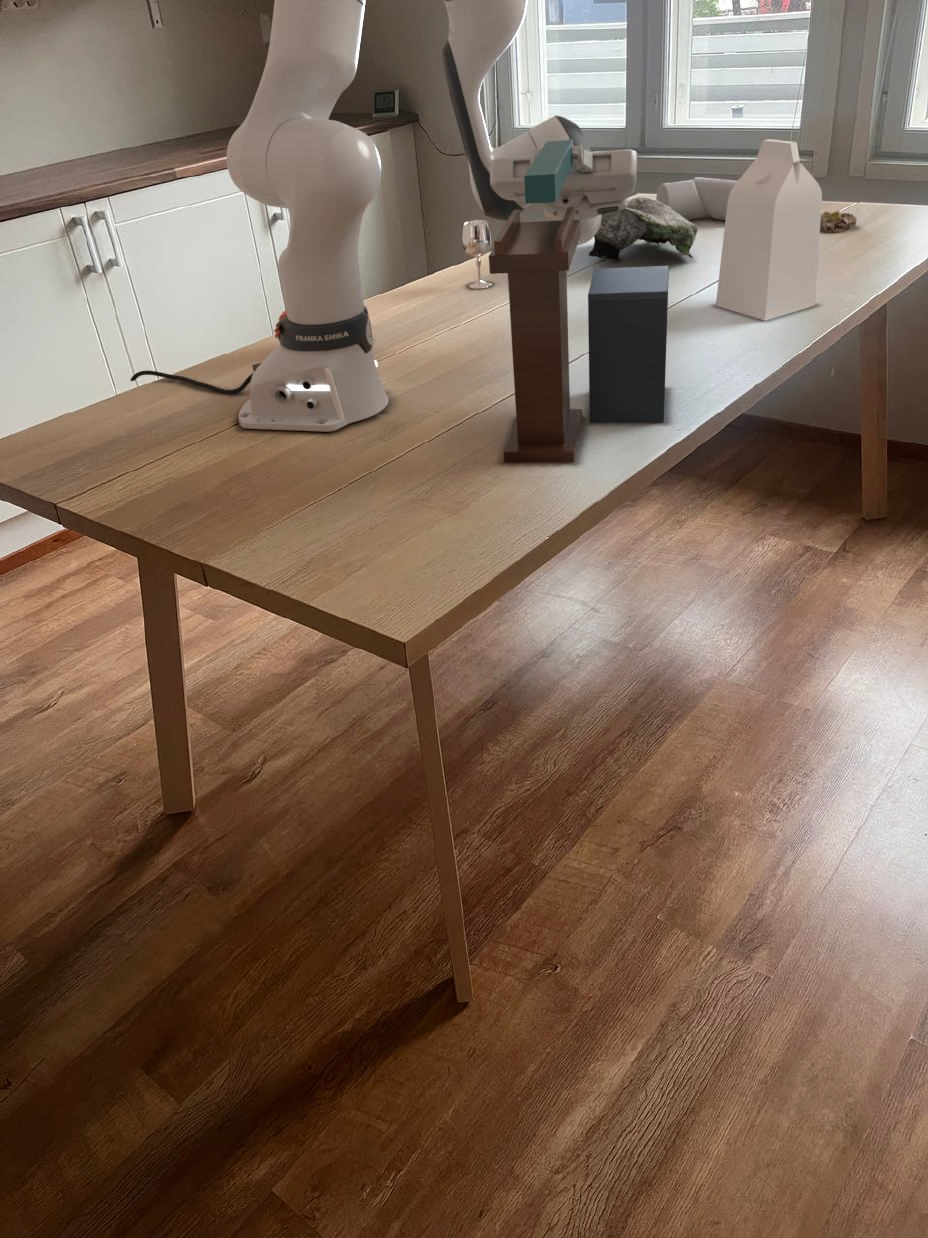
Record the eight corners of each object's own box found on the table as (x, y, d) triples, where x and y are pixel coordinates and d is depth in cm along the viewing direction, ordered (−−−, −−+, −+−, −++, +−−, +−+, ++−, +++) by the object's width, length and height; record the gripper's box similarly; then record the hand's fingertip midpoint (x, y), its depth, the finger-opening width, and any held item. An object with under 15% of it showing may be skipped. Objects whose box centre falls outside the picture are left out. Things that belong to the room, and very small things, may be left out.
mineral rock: (861, 211, 206) (856, 209, 199) (858, 233, 207) (853, 231, 200) (809, 212, 210) (802, 210, 204) (807, 234, 212) (800, 232, 205)
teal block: (547, 165, 129) (546, 141, 127) (573, 164, 128) (572, 139, 126) (525, 203, 110) (524, 175, 109) (555, 201, 110) (554, 173, 108)
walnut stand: (519, 416, 135) (508, 210, 120) (583, 415, 133) (579, 206, 118) (503, 465, 122) (487, 241, 107) (573, 465, 120) (567, 237, 105)
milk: (815, 305, 164) (835, 138, 149) (765, 320, 160) (780, 150, 145) (764, 291, 173) (778, 132, 158) (715, 305, 169) (725, 143, 154)
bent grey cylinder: (732, 200, 230) (652, 211, 228) (739, 155, 222) (657, 166, 220) (762, 232, 218) (678, 244, 216) (770, 185, 210) (684, 197, 208)
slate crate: (595, 390, 141) (594, 268, 131) (664, 389, 139) (668, 265, 129) (589, 423, 131) (587, 293, 121) (663, 422, 129) (668, 291, 119)
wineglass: (463, 289, 191) (457, 226, 184) (469, 281, 195) (464, 219, 189) (490, 289, 190) (486, 225, 183) (496, 281, 194) (492, 218, 187)
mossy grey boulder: (535, 241, 188) (549, 159, 184) (569, 266, 216) (582, 195, 212) (682, 259, 180) (700, 174, 176) (698, 283, 207) (713, 210, 204)
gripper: (497, 171, 140) (480, 133, 127) (638, 162, 136) (636, 121, 123) (497, 216, 141) (479, 182, 127) (637, 208, 137) (635, 172, 123)
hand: (558, 152), depth 125 cm, fingers closed on teal block, 3 cm apart
